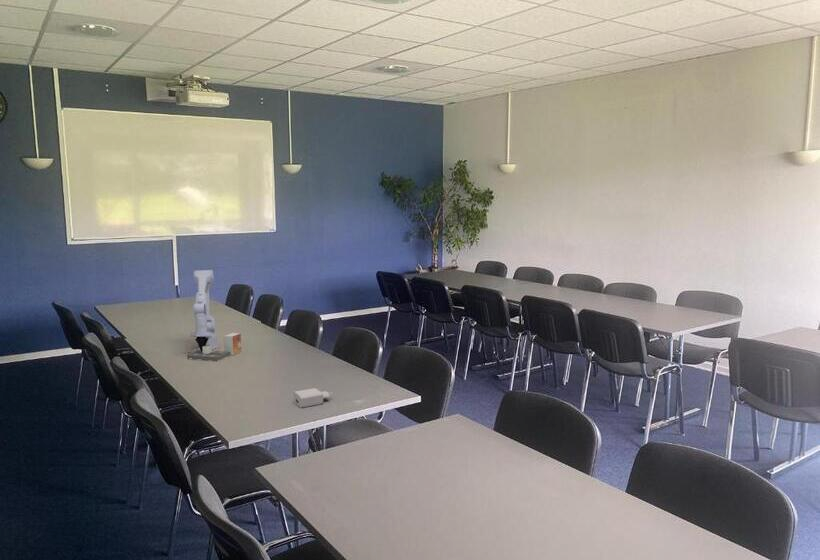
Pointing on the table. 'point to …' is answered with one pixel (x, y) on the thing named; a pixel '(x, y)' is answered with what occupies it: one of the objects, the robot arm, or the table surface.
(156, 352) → the table surface
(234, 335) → the small box
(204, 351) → the fader
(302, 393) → the charger
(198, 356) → the panel
